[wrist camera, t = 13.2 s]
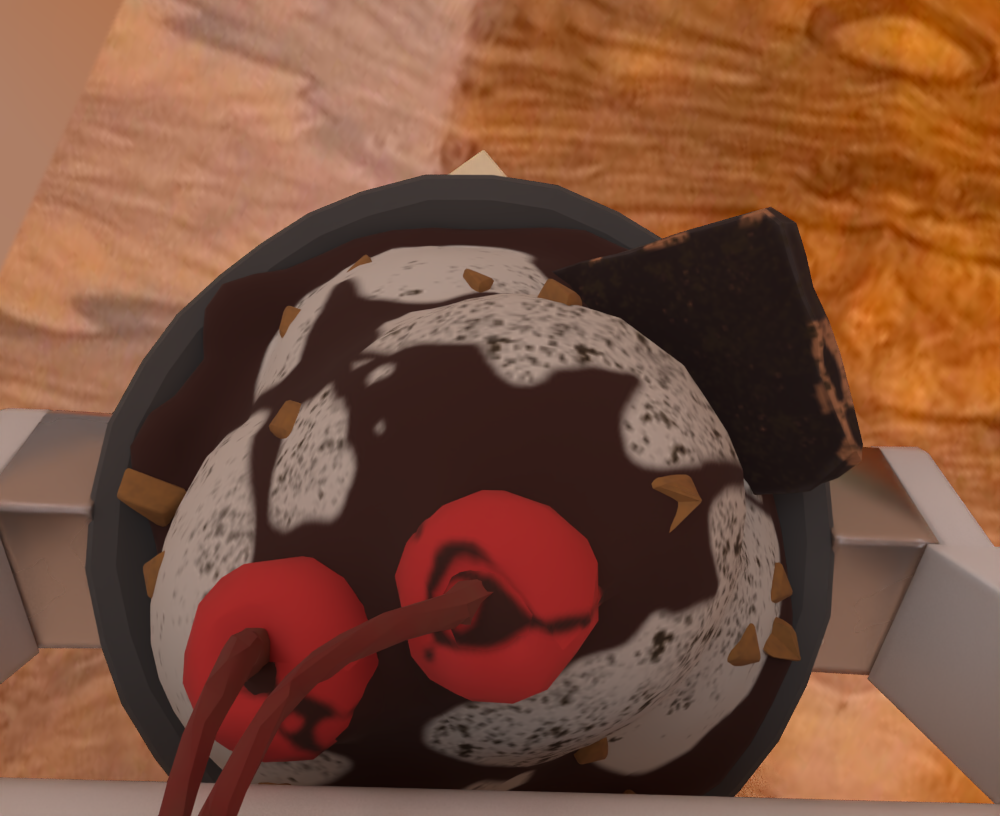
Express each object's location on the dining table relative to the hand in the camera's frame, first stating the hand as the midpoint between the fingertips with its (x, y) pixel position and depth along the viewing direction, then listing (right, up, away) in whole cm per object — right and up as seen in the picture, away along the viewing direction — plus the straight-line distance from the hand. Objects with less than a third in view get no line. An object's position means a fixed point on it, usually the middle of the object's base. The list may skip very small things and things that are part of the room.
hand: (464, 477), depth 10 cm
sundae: (0, -2, +8) cm, 9 cm away
